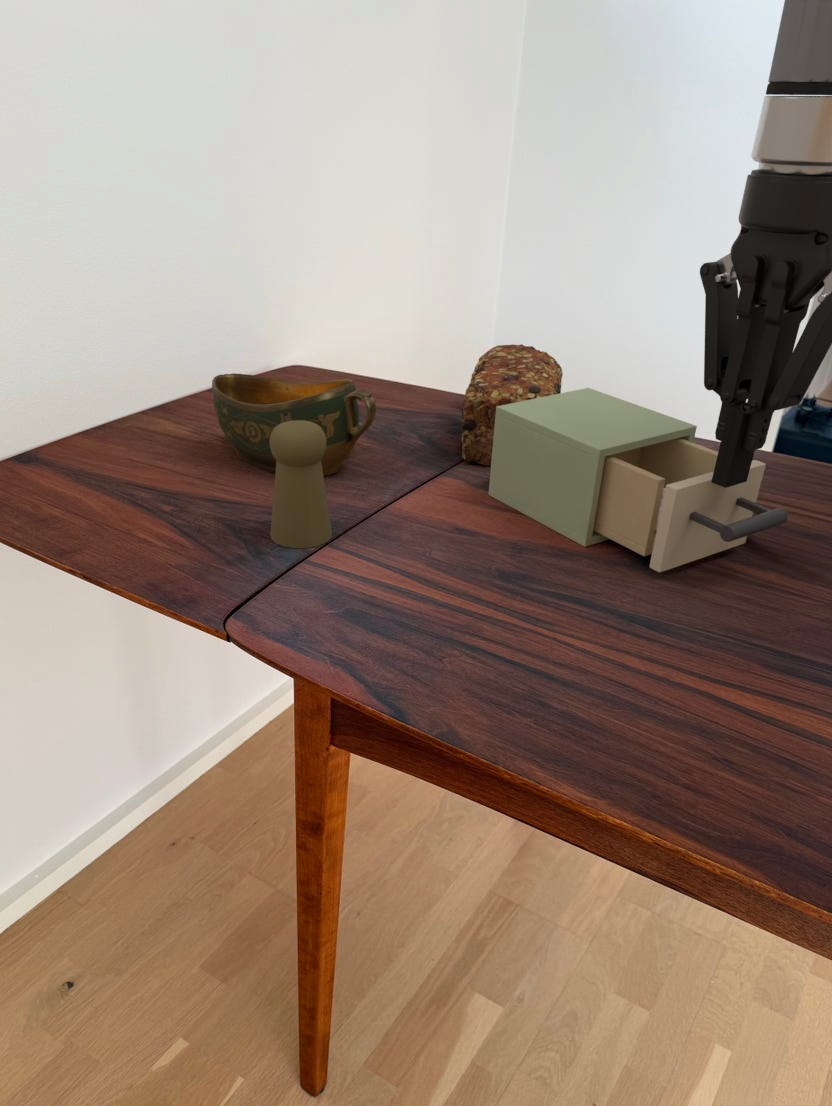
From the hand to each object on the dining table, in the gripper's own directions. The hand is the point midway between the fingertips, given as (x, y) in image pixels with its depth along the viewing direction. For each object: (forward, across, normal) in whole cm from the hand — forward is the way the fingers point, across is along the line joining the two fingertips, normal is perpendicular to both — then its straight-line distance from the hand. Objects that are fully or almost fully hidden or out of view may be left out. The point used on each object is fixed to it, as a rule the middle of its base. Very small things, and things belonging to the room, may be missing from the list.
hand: (729, 481), depth 75 cm
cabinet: (+9, +16, 0) cm, 18 cm away
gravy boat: (+9, +43, +20) cm, 48 cm away
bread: (+9, +35, -6) cm, 37 cm away
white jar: (+7, +6, 0) cm, 9 cm away
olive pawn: (+9, +26, +28) cm, 39 cm away
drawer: (+8, +5, 0) cm, 9 cm away
